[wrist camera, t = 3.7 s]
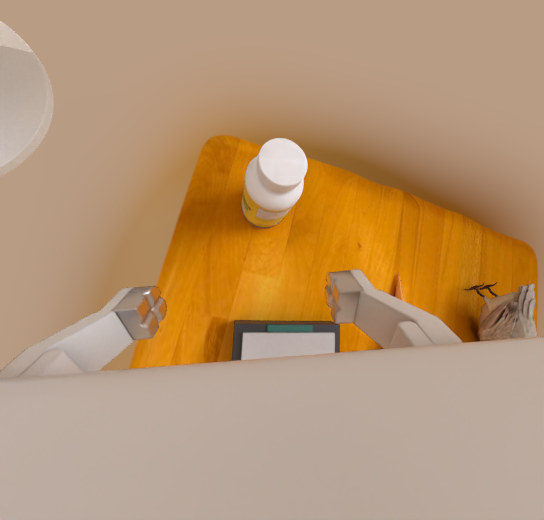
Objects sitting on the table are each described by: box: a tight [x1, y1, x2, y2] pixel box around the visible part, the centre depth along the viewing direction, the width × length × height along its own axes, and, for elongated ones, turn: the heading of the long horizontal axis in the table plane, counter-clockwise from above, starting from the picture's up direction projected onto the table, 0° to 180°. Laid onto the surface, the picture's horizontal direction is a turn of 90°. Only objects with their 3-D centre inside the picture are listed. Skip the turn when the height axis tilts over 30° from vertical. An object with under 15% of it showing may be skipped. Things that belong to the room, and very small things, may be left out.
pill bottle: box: [241, 138, 307, 228], centre depth 24 cm, size 6×6×12 cm
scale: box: [232, 320, 340, 361], centre depth 26 cm, size 14×14×3 cm
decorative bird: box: [464, 282, 537, 341], centre depth 31 cm, size 5×16×8 cm, turn 3°
